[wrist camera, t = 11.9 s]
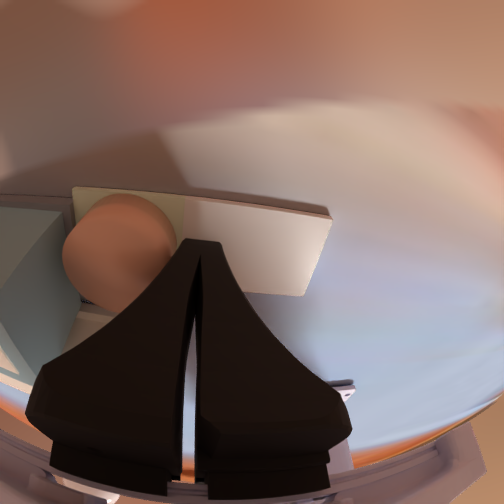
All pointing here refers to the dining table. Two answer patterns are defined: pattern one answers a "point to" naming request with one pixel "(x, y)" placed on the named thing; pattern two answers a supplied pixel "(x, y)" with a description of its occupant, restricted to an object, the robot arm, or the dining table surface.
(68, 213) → the pad
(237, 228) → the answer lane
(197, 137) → the dining table surface
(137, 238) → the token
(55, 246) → the blue-grey cube
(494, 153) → the dining table surface
